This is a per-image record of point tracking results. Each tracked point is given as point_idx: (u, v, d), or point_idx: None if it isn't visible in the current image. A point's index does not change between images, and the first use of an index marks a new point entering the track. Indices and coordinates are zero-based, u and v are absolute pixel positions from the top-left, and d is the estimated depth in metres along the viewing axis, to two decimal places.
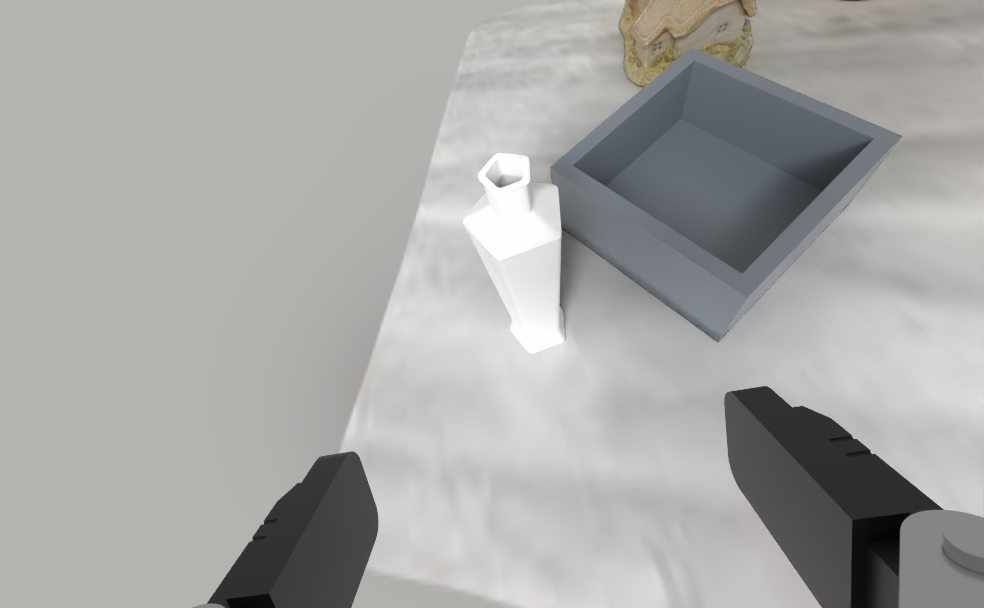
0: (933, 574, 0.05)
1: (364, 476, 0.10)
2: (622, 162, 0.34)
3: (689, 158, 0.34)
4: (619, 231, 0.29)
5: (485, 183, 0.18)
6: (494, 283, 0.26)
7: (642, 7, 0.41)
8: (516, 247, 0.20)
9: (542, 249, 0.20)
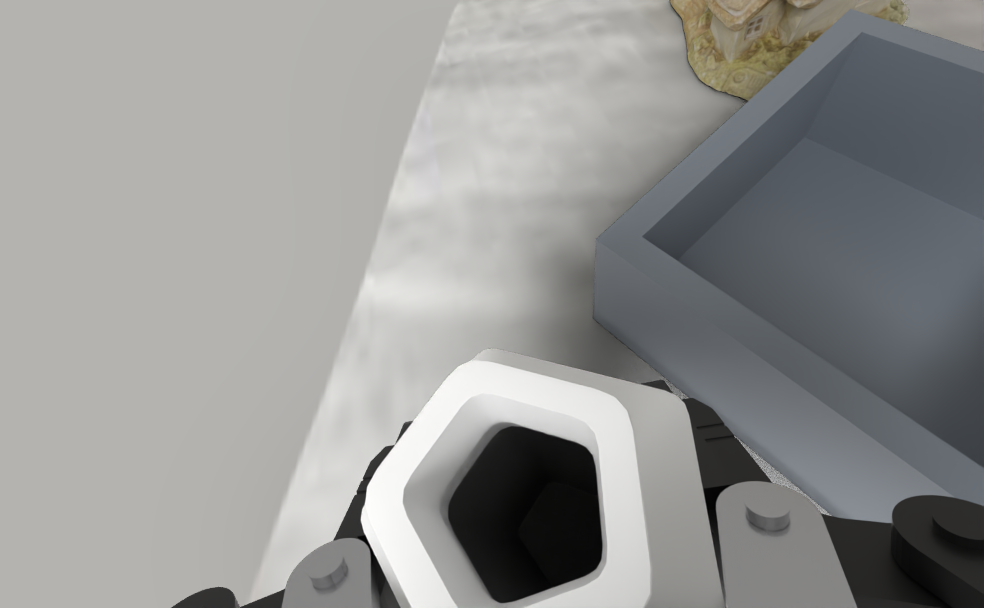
0: (743, 541, 0.06)
1: None
2: (714, 215, 0.19)
3: (830, 207, 0.19)
4: (742, 378, 0.14)
5: (397, 566, 0.03)
6: (479, 539, 0.11)
7: None
8: None
9: None
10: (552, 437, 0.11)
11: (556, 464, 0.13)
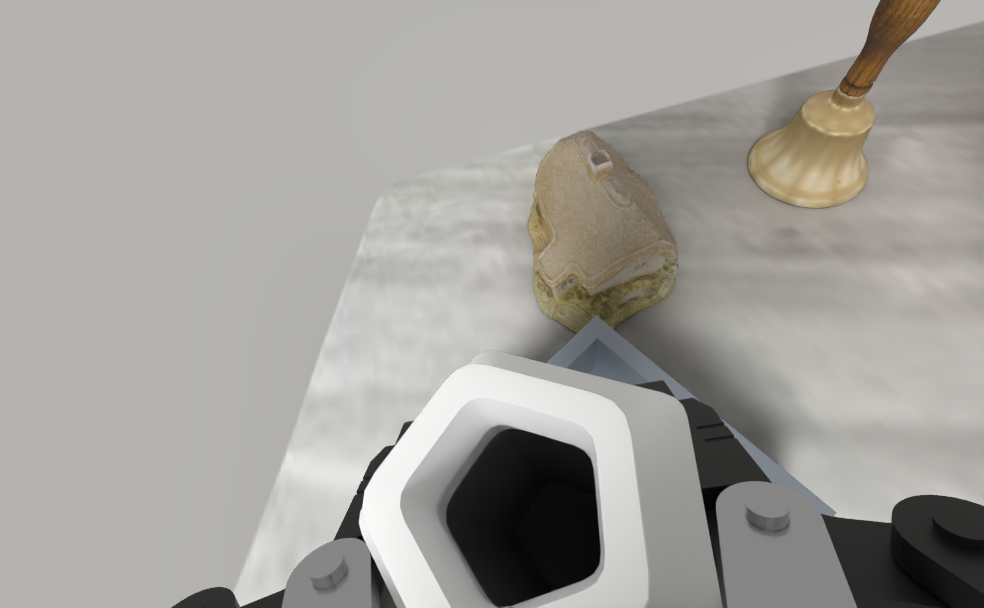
0: (743, 541, 0.06)
1: None
2: None
3: None
4: None
5: (394, 571, 0.03)
6: (478, 541, 0.11)
7: None
8: None
9: None
10: (551, 438, 0.11)
11: (555, 465, 0.13)
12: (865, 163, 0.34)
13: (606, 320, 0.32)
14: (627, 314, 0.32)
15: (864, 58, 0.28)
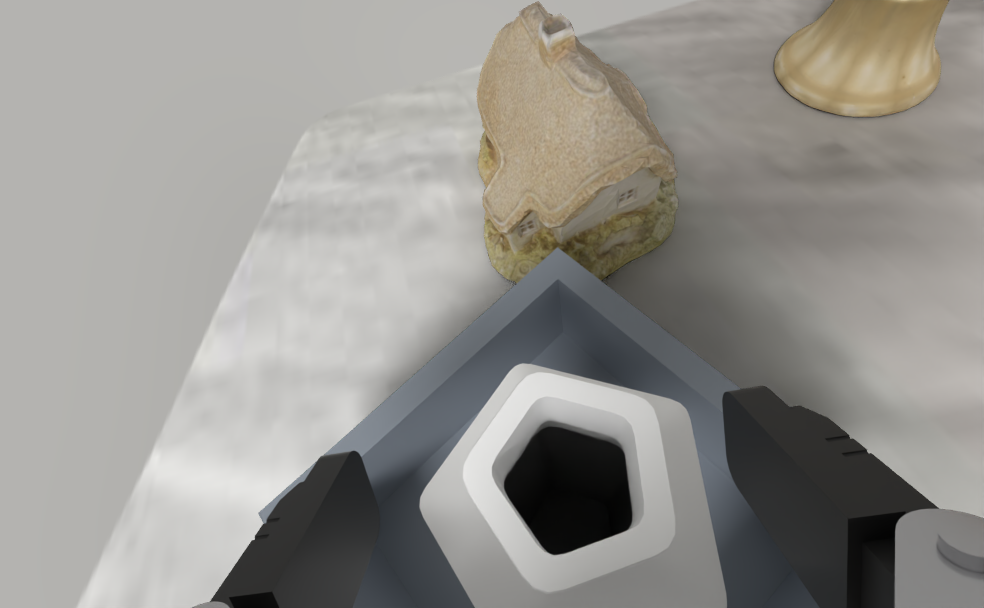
0: (928, 573, 0.05)
1: (366, 475, 0.10)
2: (447, 430, 0.19)
3: None
4: None
5: (492, 520, 0.05)
6: None
7: None
8: None
9: None
10: (564, 443, 0.12)
11: (563, 470, 0.14)
12: (937, 55, 0.25)
13: None
14: (612, 266, 0.23)
15: None
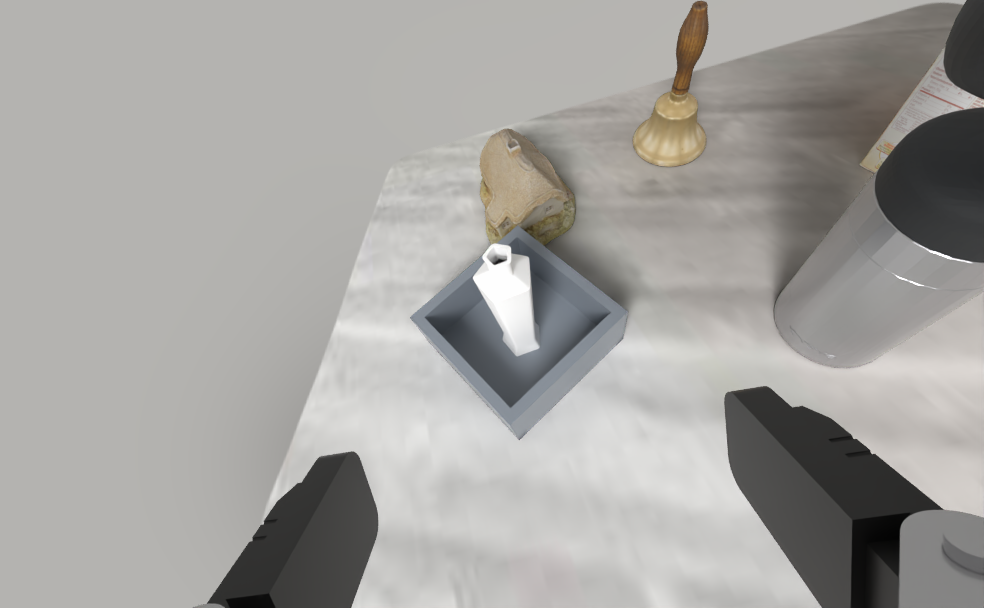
0: (934, 574, 0.05)
1: (364, 476, 0.10)
2: (473, 301, 0.48)
3: None
4: (452, 364, 0.42)
5: (486, 262, 0.33)
6: None
7: None
8: (504, 295, 0.34)
9: (519, 295, 0.34)
10: None
11: None
12: (703, 137, 0.53)
13: None
14: (545, 240, 0.51)
15: (678, 72, 0.47)
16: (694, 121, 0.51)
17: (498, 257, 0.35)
